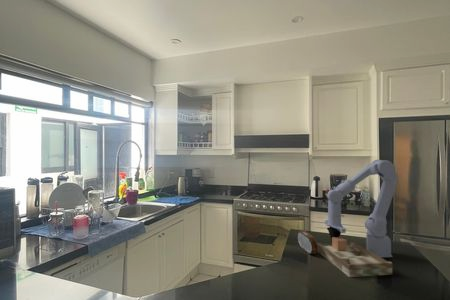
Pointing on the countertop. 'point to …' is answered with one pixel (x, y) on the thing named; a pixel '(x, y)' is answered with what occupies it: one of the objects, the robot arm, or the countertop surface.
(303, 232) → the tin
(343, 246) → the block
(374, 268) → the mottled shallow tray
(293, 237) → the countertop surface
